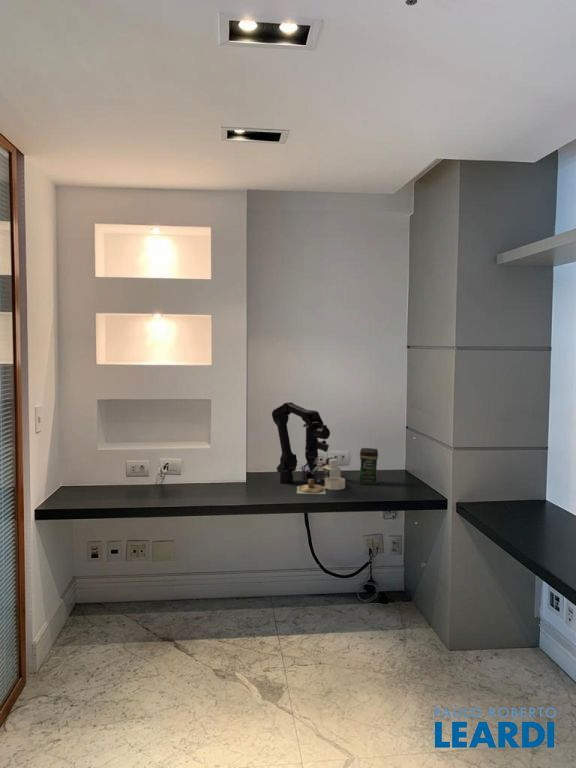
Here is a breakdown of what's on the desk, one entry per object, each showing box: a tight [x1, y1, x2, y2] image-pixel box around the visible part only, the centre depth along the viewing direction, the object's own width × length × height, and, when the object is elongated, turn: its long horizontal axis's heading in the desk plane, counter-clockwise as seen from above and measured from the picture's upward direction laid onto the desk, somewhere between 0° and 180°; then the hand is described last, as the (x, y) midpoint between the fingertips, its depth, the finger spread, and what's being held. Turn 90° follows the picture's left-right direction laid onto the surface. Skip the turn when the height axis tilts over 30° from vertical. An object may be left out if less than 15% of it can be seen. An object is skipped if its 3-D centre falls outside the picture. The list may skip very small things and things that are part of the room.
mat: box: [296, 485, 327, 495], centre depth 287 cm, size 14×14×1 cm
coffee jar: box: [358, 447, 379, 486], centre depth 302 cm, size 10×8×19 cm
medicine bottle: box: [322, 457, 342, 481], centre depth 308 cm, size 7×7×12 cm
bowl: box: [324, 477, 346, 491], centre depth 292 cm, size 10×10×4 cm
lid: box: [299, 478, 323, 493], centre depth 287 cm, size 12×12×5 cm
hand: (311, 467), depth 286 cm, fingers open, 9 cm apart
